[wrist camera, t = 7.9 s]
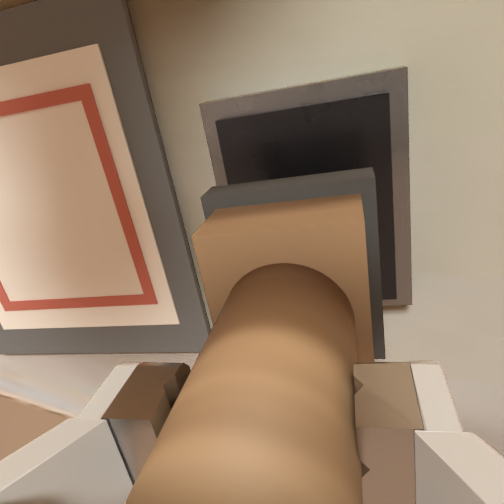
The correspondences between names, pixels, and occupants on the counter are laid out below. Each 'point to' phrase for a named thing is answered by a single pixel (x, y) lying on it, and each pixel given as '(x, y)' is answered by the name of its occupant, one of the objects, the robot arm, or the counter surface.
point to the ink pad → (326, 149)
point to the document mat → (87, 192)
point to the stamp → (276, 347)
